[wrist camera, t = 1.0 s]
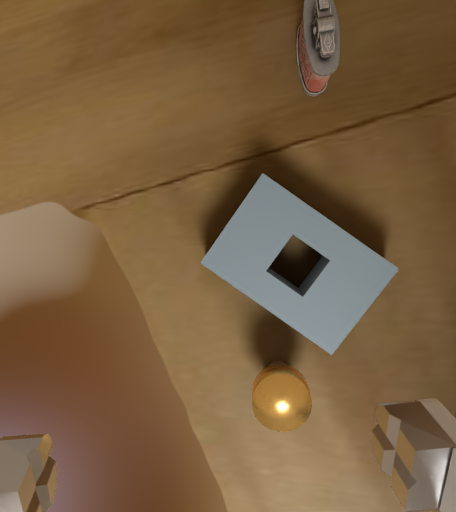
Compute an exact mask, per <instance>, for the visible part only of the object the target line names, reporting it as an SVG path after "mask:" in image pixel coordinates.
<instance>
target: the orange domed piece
mask: <svg viewBox="0 0 456 512" xmlns="http://www.w3.org/2000/svg"><path fill="white" fill-rule="evenodd" d="M252 407H253V411H254V414H255V416H256V418H257V419H258V420H259V422H260V423H261V424H263V425H264V426H265V427H267V428H269V429H271V430H274V431H279V432H286V431H291V430H294V429H296V428H298V427H300V426H301V425H302V424H304V423H305V421H306V420H307V419H308V417H309V415H310V412H311V408H312V400H311V396H310V392H309V389H308V385H307V382H306V380H305V378H304V377H303V375H302V374H301V373H300V372H299V371H298V370H296V369H295V368H293V367H291V366H288V365H287V364H286V363H284V362H280V361H276V362H272V363H271V364H269V365H268V366H267V368H265V369H264V370H262V371H261V372H260V373H259V374H258V375H257V377H256V379H255V381H254V384H253V393H252Z"/></svg>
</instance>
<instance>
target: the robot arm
mask: <svg viewBox="0 0 456 512" xmlns="http://www.w3.org/2000/svg"><path fill="white" fill-rule="evenodd" d="M374 417H375V419H376V421H377V422H378V425H377V426H376V427H375V428H374V429H373V430H372V439H371V443H372V449H373V454H374V457H375V459H376V462H377V464H378V466H379V467H380V469H381V471H383V472H384V473H386V474H387V475H388V476H390V477H391V483H390V487H391V489H392V491H393V492H394V494H395V496H396V498H397V499H398V501H399V503H400V505H401V506H402V508H403V510H404V512H406V511H418V510H430V509H440V510H439V511H440V512H456V418H455V417H454V416H453V415H452V414H451V413H450V412H449V411H448V410H447V409H446V408H445V406H444V405H443V404H442V403H441V402H440V401H439V400H437V399H435V398H430V399H420V400H415V401H404V402H393V403H383V404H378V405H377V407H376V408H375V414H374ZM51 449H52V443H51V439H50V435H47V434H35V435H20V436H6V437H5V436H4V437H0V512H45V511H46V510H47V509H48V508H49V507H50V506H51V505H52V502H53V499H54V496H55V492H56V485H57V466H56V461H55V460H53V459H52V458H51V457H50V456H49V454H50V451H51Z"/></svg>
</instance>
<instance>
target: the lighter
mask: <svg viewBox="0 0 456 512" xmlns="http://www.w3.org/2000/svg"><path fill="white" fill-rule="evenodd" d="M339 56H340V27H339V21H338V16H337V10H336V7H335V4H334V1H333V0H304V6H303V17H302V22H301V24H300V26H299V28H298V31H297V40H296V58H297V67H298V72H299V77H300V80H301V83H302V87H303V90H304V92H305V93H306V94H307V95H310V96H317V95H320V94H321V93H323V91H324V90H325V88H326V86H327V81H328V79H329V77H330V76H331V74H332V73H334V71H335V70H336V69H337V67H338V64H339Z"/></svg>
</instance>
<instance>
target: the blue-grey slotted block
mask: <svg viewBox="0 0 456 512" xmlns="http://www.w3.org/2000/svg"><path fill="white" fill-rule="evenodd" d="M292 235H295V236H296V237H297V238H299V239H300V240H302V241H303V242H304V243H306V244H307V245H309V246H310V247H312V248H313V249H314V250H316V251H317V252H319V253H320V254H322V255H323V256H322V257H321V258H320V260H319V261H318V262H317V264H316V265H315V266H314V268H313V269H312V270H311V272H310V273H309V274H308V276H307V277H306V278H305V280H304V281H303V282H302V284H301V285H300V287H299V288H298V287H296V286H295V285H293V284H292V283H290V282H289V281H288V280H286V279H285V278H283V277H282V276H280V275H279V274H278V273H276V272H275V271H273V270H272V269H270V268H269V266H270V265H271V264H272V262H273V261H274V259H275V258H276V257H277V255H278V254H279V253H280V251H281V250H282V248H283V247H284V246H285V244H286V243H287V242H288V240H289V239H290V237H291V236H292ZM201 264H203V265H204V266H205V267H207V268H208V269H210V270H211V271H213V272H214V273H215V274H217V275H218V276H220V277H221V278H222V279H224V280H225V281H227V282H228V283H230V284H231V285H232V286H234V287H235V288H237V289H238V290H240V291H241V292H242V293H244V294H245V295H247V296H248V297H250V298H251V299H252V300H254V301H255V302H257V303H258V304H260V305H261V306H262V307H264V308H265V309H267V310H268V311H270V312H271V313H272V314H274V315H275V316H277V317H278V318H280V319H281V320H282V321H284V322H285V323H287V324H288V325H290V326H291V327H292V328H294V329H295V330H297V331H298V332H300V333H301V334H302V335H304V336H305V337H307V338H308V339H309V340H311V341H312V342H314V343H315V344H317V345H318V346H319V347H321V348H322V349H324V350H325V351H327V352H328V353H329V354H331V355H332V354H333V353H334V351H335V350H336V349H337V348H338V346H339V345H340V344H341V342H342V341H343V340H344V339H345V337H346V336H347V335H348V334H349V332H350V331H351V330H352V328H353V327H354V326H355V325H356V323H357V322H358V321H359V320H360V318H361V317H362V316H363V314H364V313H365V312H366V311H367V309H368V308H369V307H370V305H371V304H372V303H373V302H374V300H375V299H376V298H377V297H378V295H379V294H380V293H381V291H382V290H383V289H384V288H385V286H386V285H387V284H388V282H389V281H390V280H391V279H392V277H393V276H394V275H395V274H396V272H397V271H398V270H399V269H398V268H397V267H396V266H394V265H393V264H391V263H390V262H388V261H387V260H386V259H384V258H383V257H381V256H380V255H379V254H377V253H376V252H374V251H373V250H371V249H370V248H369V247H367V246H366V245H364V244H363V243H361V242H360V241H359V240H357V239H356V238H354V237H353V236H352V235H350V234H349V233H347V232H346V231H344V230H343V229H342V228H340V227H339V226H337V225H336V224H334V223H333V222H332V221H330V220H329V219H327V218H326V217H325V216H323V215H322V214H320V213H319V212H317V211H316V210H315V209H313V208H312V207H310V206H309V205H307V204H306V203H305V202H303V201H302V200H300V199H299V198H297V197H296V196H295V195H293V194H292V193H290V192H289V191H288V190H286V189H285V188H283V187H282V186H280V185H279V184H278V183H276V182H275V181H273V180H272V179H270V178H269V177H268V176H266V175H265V174H263V173H262V175H261V176H260V178H259V179H258V180H257V182H256V183H255V185H254V186H253V188H252V189H251V191H250V192H249V193H248V195H247V196H246V198H245V199H244V201H243V202H242V204H241V205H240V206H239V208H238V209H237V211H236V212H235V214H234V215H233V217H232V218H231V219H230V221H229V222H228V224H227V225H226V227H225V228H224V230H223V231H222V232H221V234H220V235H219V237H218V238H217V240H216V241H215V243H214V244H213V245H212V247H211V248H210V250H209V251H208V253H207V254H206V256H205V257H204V258H203V260H202V261H201Z"/></svg>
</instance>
